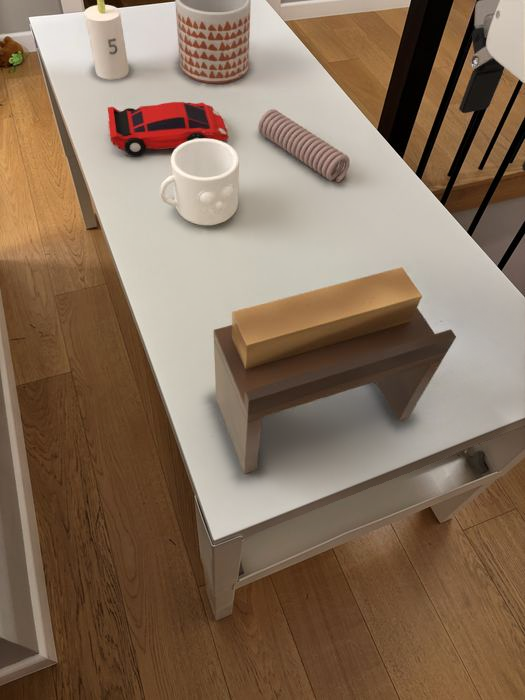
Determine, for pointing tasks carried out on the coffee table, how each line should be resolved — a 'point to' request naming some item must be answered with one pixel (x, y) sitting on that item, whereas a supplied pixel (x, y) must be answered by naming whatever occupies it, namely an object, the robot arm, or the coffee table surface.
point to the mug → (204, 181)
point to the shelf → (324, 377)
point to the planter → (213, 38)
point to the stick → (323, 317)
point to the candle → (106, 41)
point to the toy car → (164, 126)
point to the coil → (304, 145)
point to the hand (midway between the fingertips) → (503, 137)
